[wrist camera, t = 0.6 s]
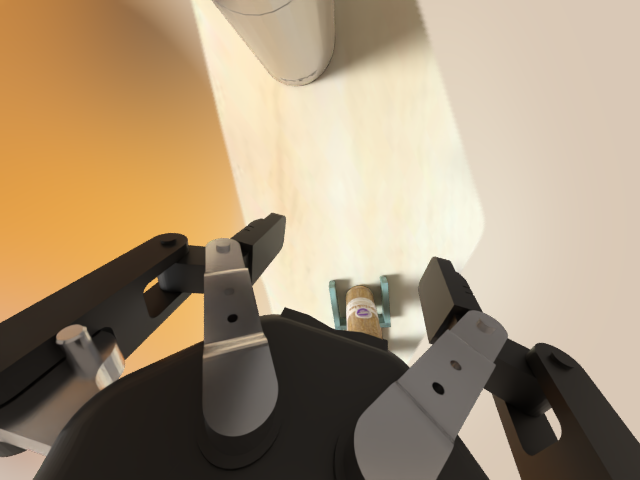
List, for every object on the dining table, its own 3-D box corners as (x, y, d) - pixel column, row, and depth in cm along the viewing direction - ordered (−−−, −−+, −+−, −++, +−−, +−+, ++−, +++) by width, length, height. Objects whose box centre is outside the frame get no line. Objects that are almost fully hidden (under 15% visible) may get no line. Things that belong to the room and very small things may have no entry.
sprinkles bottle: (369, 281, 36) (386, 347, 23) (376, 305, 37) (395, 380, 24) (341, 288, 36) (342, 355, 24) (348, 311, 38) (353, 387, 25)
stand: (329, 281, 36) (324, 336, 25) (385, 276, 35) (407, 331, 23) (341, 357, 41) (341, 433, 29) (390, 355, 40) (410, 432, 28)
